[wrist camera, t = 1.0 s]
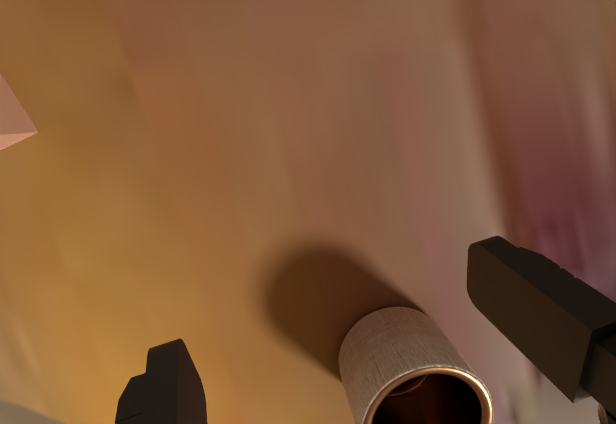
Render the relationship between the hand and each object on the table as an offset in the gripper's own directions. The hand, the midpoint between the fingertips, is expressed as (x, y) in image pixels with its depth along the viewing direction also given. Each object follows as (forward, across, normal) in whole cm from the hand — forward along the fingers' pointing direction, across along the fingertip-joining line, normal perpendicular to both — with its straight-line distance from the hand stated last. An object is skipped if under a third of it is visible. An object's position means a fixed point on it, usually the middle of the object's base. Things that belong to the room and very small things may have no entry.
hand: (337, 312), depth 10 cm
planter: (+18, -9, +25) cm, 32 cm away
